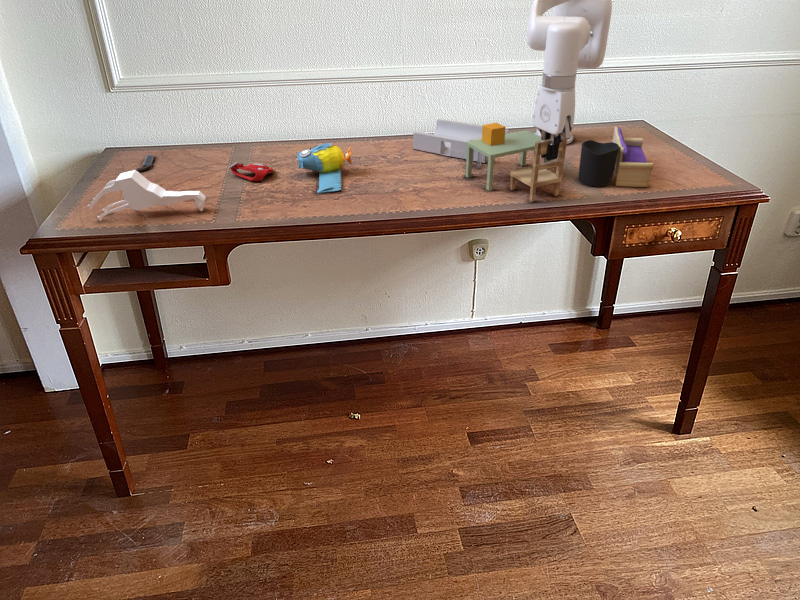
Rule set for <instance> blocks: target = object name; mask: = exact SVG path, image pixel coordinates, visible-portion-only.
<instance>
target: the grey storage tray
mask: <svg viewBox="0 0 800 600" xmlns="http://www.w3.org/2000/svg"><path fill="white" fill-rule="evenodd" d="M482 127H483V125H481V124H474V123H467V122H462V121H454V120H448V119H443V118H437V119H436V126H435V130H434V132H433V133H427V132H421V131H416V130H415V131H414V132H413V133H412V149H413V150H417V151H423V152H428V153H431V154H438V155H441V156H447V157H452V158H457V159H461V160H466V157H467V145H466V142H467V141H472V140H477V139H482ZM509 133H510V129H505V134H509ZM474 162H477V167H476V168H477V169H480V168H481V167H482V163H483V164H486V163H488V157H487V156H485V155H483V154H481V153H479V152H478V151H476V150H474V149H473V155H472V166H473V165H474Z"/></svg>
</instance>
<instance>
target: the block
mask: <svg viewBox="0 0 800 600" xmlns="http://www.w3.org/2000/svg"><path fill="white" fill-rule="evenodd" d="M482 126H483V127H482V142H484V143H486V144H488V145H490V146H492V145H497V144H502V143H504V141H505V129H506V126H505V125H502V124H500V123H498V122H493V123H492V122H491V123H486V124H482Z"/></svg>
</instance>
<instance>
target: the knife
mask: <svg viewBox="0 0 800 600" xmlns="http://www.w3.org/2000/svg"><path fill="white" fill-rule="evenodd" d="M154 159H155V155H152V154H149V153H147V154H146V156H145V158H144V160H143V162H142V166H141V167H138V168H137V167H136V169H135V170H137V171H138V172H139V173H140V172H144V171H145V172H146V171H147V170H150V168H152V166H153V162H154Z"/></svg>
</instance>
